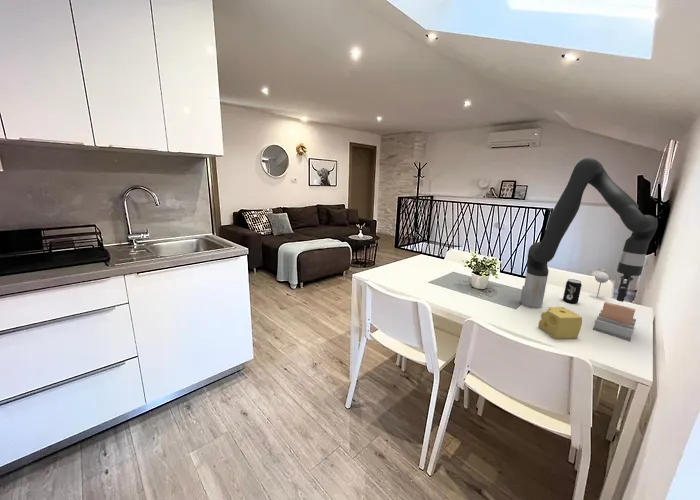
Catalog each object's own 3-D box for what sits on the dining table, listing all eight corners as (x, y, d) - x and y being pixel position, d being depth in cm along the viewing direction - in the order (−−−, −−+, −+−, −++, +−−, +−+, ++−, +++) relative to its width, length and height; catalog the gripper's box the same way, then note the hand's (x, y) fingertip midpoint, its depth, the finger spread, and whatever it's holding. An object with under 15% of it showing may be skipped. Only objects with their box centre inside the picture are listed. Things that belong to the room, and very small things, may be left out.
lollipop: (600, 300, 157) (606, 274, 154) (588, 296, 162) (593, 271, 159) (606, 298, 160) (612, 273, 156) (593, 294, 165) (599, 270, 161)
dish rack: (630, 341, 118) (632, 331, 117) (592, 329, 127) (595, 320, 126) (633, 327, 129) (636, 318, 128) (599, 317, 138) (601, 309, 137)
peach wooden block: (629, 332, 123) (635, 310, 121) (599, 323, 130) (604, 303, 128) (629, 330, 125) (635, 309, 122) (600, 321, 132) (605, 301, 130)
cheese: (537, 327, 129) (541, 306, 126) (559, 326, 130) (564, 306, 127) (555, 339, 119) (560, 318, 116) (579, 338, 120) (584, 317, 117)
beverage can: (580, 304, 152) (585, 283, 149) (566, 303, 153) (570, 282, 150) (573, 299, 158) (578, 279, 155) (560, 298, 160) (564, 278, 157)
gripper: (642, 268, 113) (631, 306, 117) (645, 261, 122) (634, 297, 126) (616, 263, 118) (607, 299, 122) (621, 257, 127) (612, 291, 131)
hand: (621, 298), depth 124 cm, fingers open, 8 cm apart
